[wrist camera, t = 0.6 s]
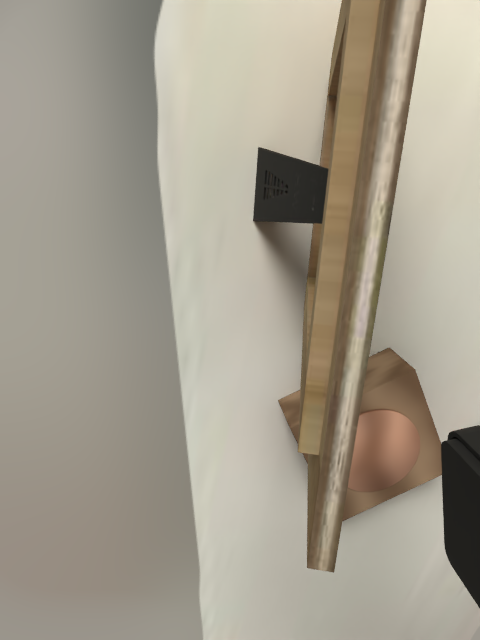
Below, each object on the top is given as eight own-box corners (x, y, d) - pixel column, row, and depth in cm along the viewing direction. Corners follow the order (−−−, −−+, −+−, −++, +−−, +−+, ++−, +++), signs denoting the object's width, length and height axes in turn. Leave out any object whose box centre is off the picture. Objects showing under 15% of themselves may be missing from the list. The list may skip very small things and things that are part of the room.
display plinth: (389, 347, 52) (416, 371, 46) (423, 440, 57) (452, 472, 51) (278, 400, 53) (291, 430, 47) (321, 488, 57) (338, 526, 51)
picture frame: (318, 343, 51) (494, 562, 23) (229, 342, 50) (300, 574, 22) (361, 1, 41) (768, -360, 13) (251, -13, 40) (437, -452, 11)
